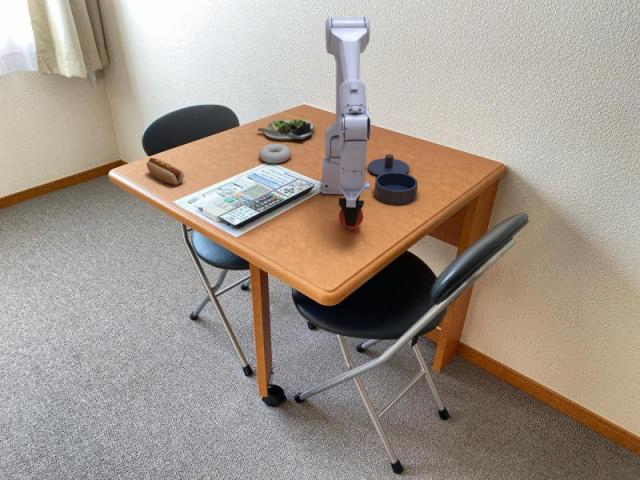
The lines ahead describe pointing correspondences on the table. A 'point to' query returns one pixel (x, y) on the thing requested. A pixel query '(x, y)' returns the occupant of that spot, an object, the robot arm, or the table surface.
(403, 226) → the table surface
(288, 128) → the salad plate
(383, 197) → the pot
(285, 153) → the donut
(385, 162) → the lid
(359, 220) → the onion
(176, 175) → the food
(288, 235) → the table surface
